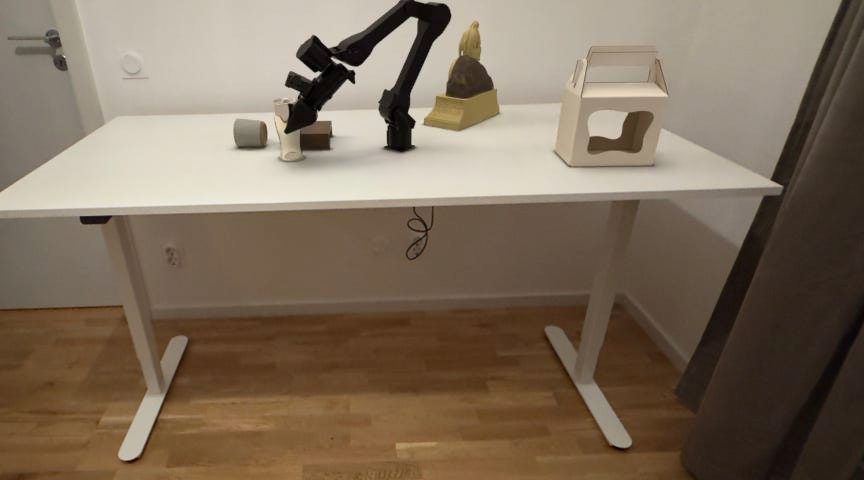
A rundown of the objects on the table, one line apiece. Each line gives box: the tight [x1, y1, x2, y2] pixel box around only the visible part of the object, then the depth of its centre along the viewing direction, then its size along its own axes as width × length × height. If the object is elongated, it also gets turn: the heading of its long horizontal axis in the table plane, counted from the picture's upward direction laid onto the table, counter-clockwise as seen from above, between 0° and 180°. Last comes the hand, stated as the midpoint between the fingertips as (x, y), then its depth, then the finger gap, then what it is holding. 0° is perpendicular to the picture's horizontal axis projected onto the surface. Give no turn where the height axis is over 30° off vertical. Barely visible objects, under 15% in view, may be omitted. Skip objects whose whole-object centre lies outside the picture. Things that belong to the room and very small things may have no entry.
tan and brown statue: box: [423, 20, 501, 132], centre depth 172 cm, size 28×13×30 cm, turn 144°
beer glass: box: [272, 97, 304, 162], centre depth 139 cm, size 7×7×15 cm
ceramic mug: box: [232, 118, 269, 148], centre depth 152 cm, size 11×8×8 cm
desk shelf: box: [301, 120, 333, 151], centre depth 153 cm, size 12×14×9 cm
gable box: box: [554, 45, 670, 168], centre depth 136 cm, size 22×13×28 cm, turn 93°
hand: (287, 128), depth 139 cm, fingers open, 9 cm apart
